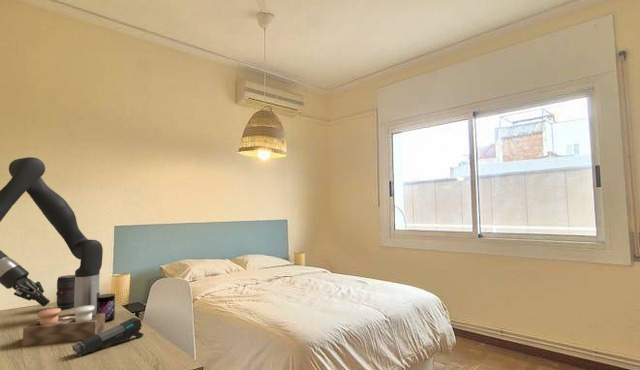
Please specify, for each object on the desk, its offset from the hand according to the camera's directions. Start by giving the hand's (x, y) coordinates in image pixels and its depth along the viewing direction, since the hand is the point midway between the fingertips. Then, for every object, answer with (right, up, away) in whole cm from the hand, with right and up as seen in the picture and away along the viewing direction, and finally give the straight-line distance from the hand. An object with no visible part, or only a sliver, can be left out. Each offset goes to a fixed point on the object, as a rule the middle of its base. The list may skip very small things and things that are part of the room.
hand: (47, 304), depth 124 cm
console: (+6, -12, +1) cm, 14 cm away
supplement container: (+9, -14, +19) cm, 25 cm away
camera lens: (-22, -16, +39) cm, 48 cm away
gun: (+28, -12, -8) cm, 32 cm away
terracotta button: (+1, -10, 0) cm, 10 cm away
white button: (+12, -9, +2) cm, 15 cm away
